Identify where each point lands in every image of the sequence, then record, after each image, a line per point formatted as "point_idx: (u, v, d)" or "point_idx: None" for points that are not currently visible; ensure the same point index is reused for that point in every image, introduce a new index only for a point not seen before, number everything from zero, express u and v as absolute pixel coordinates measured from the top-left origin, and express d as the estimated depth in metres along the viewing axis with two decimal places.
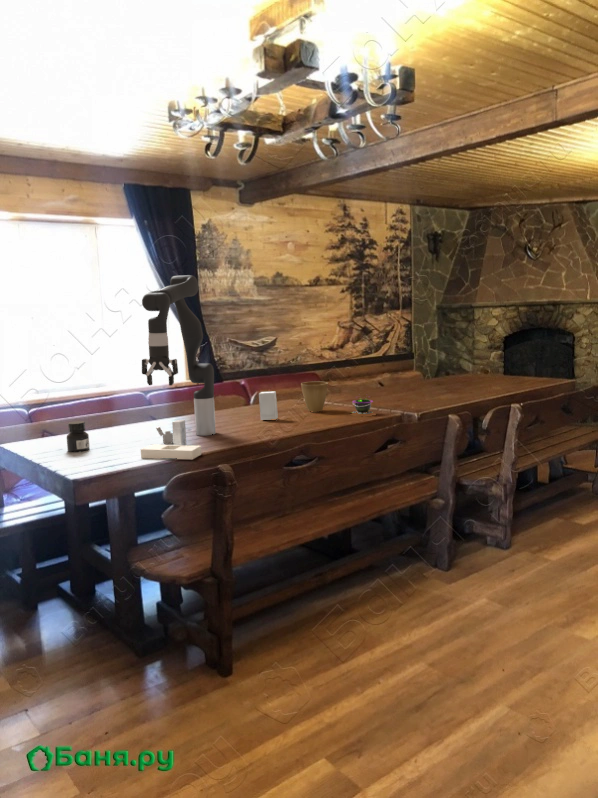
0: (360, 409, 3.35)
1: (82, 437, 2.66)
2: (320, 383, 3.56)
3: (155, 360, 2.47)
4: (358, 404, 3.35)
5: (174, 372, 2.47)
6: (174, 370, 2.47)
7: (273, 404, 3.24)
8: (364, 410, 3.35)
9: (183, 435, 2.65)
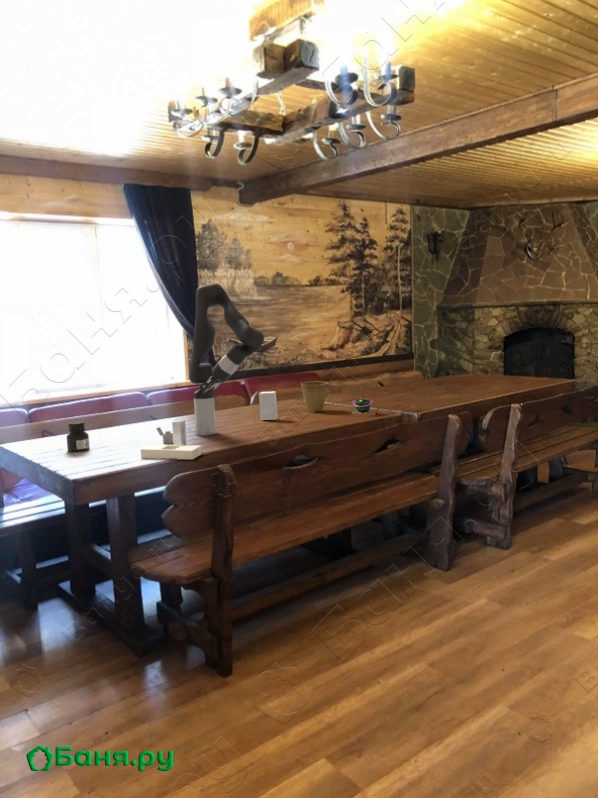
0: (360, 409, 3.35)
1: (82, 437, 2.66)
2: (320, 383, 3.56)
3: (217, 380, 2.55)
4: (358, 404, 3.35)
5: None
6: None
7: (273, 404, 3.24)
8: (364, 410, 3.35)
9: (183, 435, 2.65)
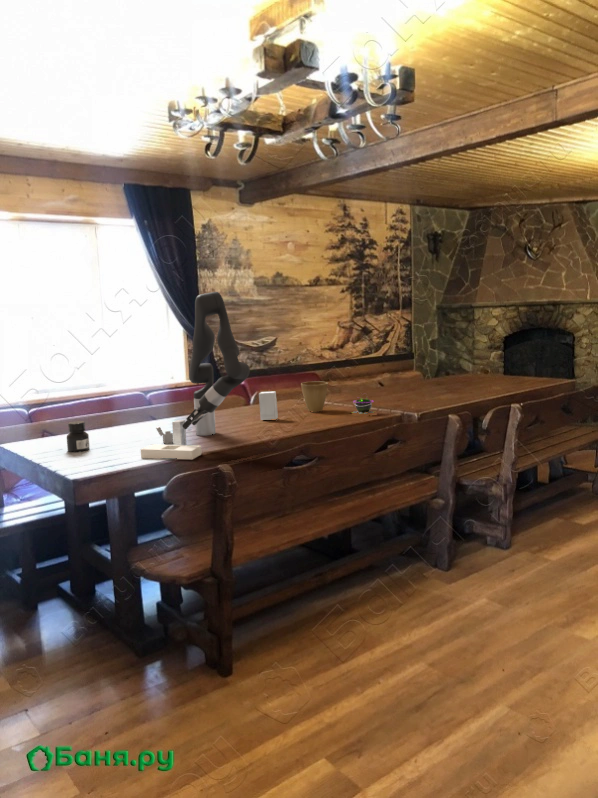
0: (361, 409, 3.35)
1: (82, 437, 2.66)
2: (320, 383, 3.56)
3: (204, 411, 2.59)
4: (359, 404, 3.35)
5: (204, 416, 2.68)
6: (205, 415, 2.67)
7: (273, 404, 3.24)
8: (365, 410, 3.35)
9: (183, 435, 2.65)
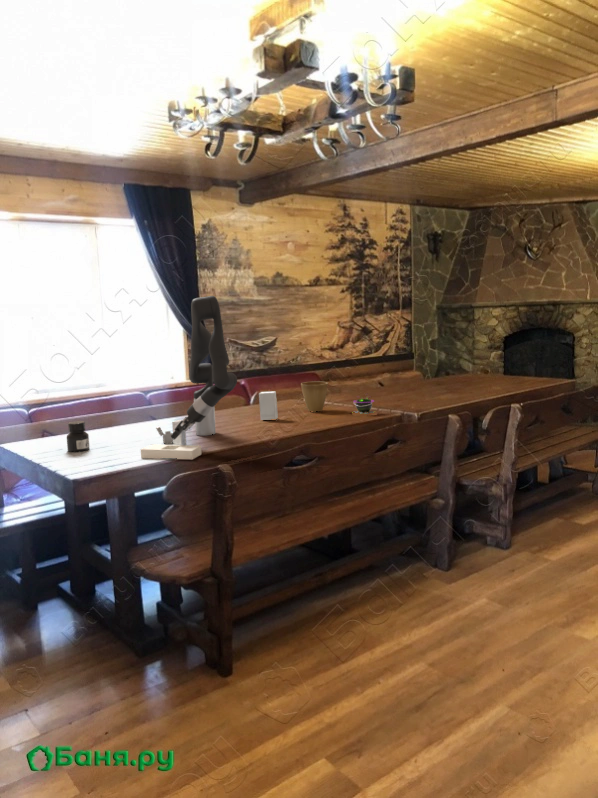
0: (361, 409, 3.36)
1: (82, 437, 2.66)
2: (320, 383, 3.56)
3: (191, 421, 2.61)
4: (359, 404, 3.35)
5: (190, 427, 2.68)
6: (191, 426, 2.68)
7: (273, 404, 3.24)
8: (365, 410, 3.36)
9: (183, 435, 2.65)
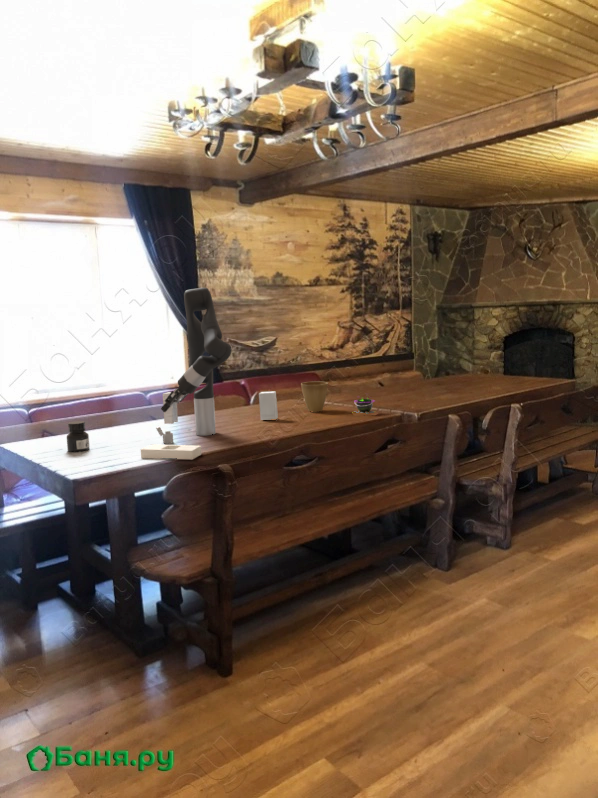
0: (362, 409, 3.36)
1: (82, 437, 2.66)
2: (320, 383, 3.56)
3: (183, 392, 2.48)
4: (360, 404, 3.36)
5: (181, 400, 2.55)
6: None
7: (273, 404, 3.24)
8: (366, 410, 3.36)
9: (174, 408, 2.52)
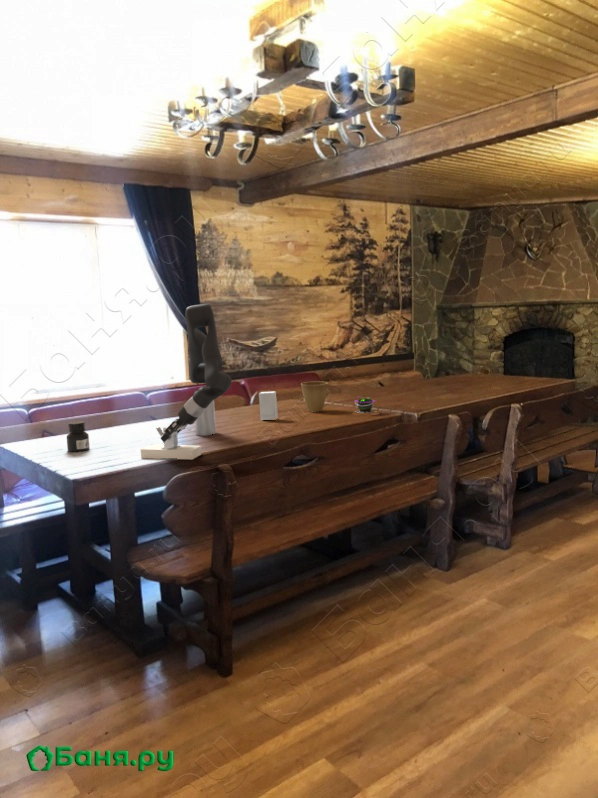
0: (362, 408, 3.36)
1: (82, 437, 2.66)
2: (320, 383, 3.56)
3: (183, 423, 2.48)
4: (360, 403, 3.36)
5: (184, 427, 2.57)
6: (185, 426, 2.57)
7: (273, 404, 3.24)
8: (366, 409, 3.36)
9: (175, 441, 2.53)
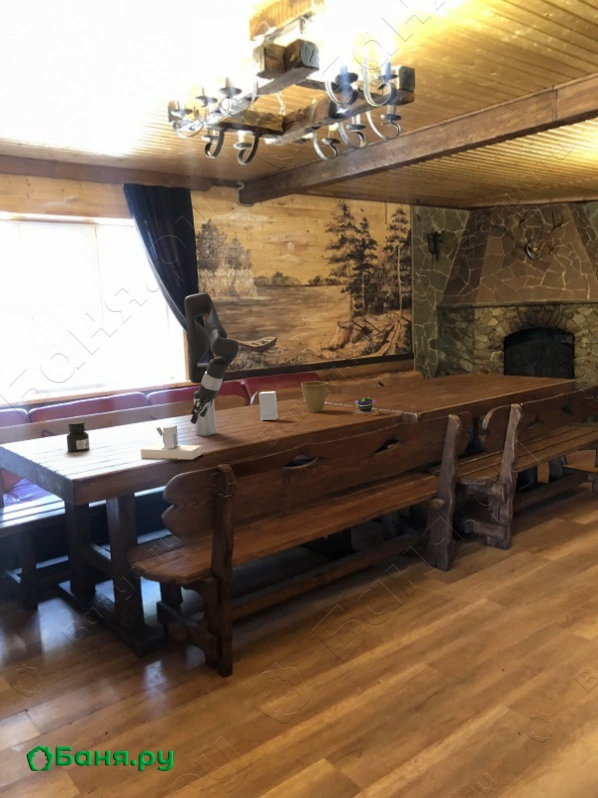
0: (363, 408, 3.37)
1: (82, 437, 2.66)
2: (320, 383, 3.56)
3: (206, 400, 2.46)
4: (361, 403, 3.37)
5: (210, 404, 2.55)
6: (211, 403, 2.55)
7: (273, 404, 3.24)
8: (367, 409, 3.37)
9: (175, 441, 2.53)
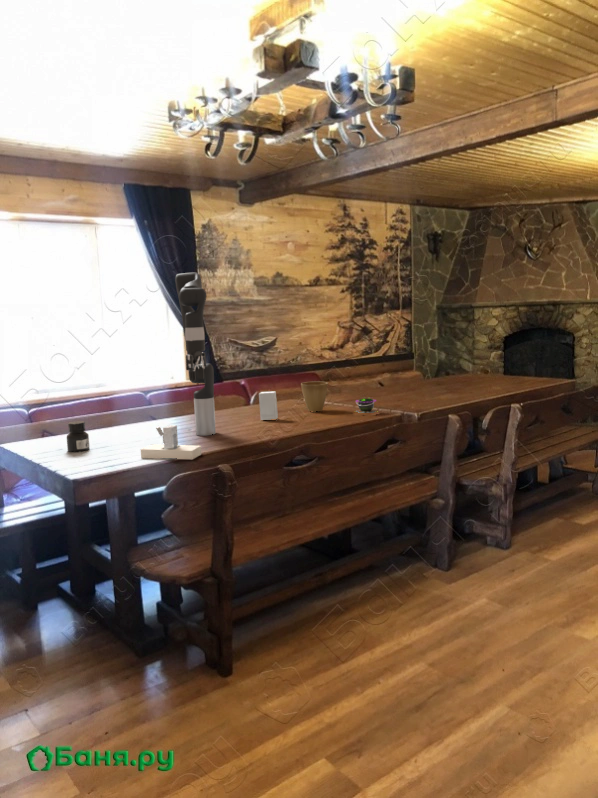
0: (363, 408, 3.37)
1: (82, 437, 2.66)
2: (320, 383, 3.56)
3: (197, 354, 2.50)
4: (361, 403, 3.37)
5: (205, 364, 2.58)
6: (205, 362, 2.57)
7: (273, 404, 3.24)
8: (367, 409, 3.37)
9: (175, 441, 2.53)
